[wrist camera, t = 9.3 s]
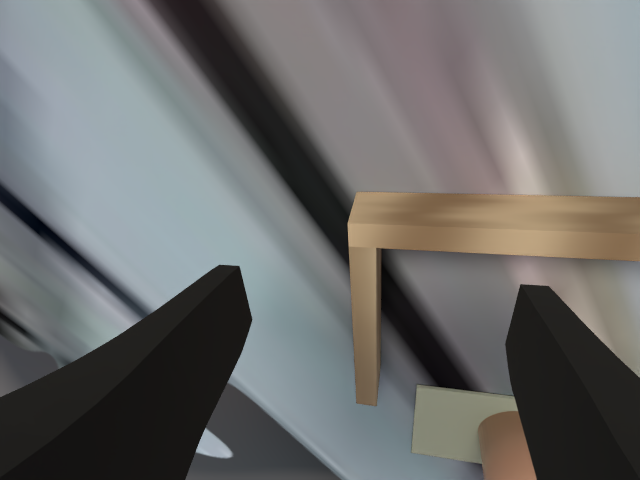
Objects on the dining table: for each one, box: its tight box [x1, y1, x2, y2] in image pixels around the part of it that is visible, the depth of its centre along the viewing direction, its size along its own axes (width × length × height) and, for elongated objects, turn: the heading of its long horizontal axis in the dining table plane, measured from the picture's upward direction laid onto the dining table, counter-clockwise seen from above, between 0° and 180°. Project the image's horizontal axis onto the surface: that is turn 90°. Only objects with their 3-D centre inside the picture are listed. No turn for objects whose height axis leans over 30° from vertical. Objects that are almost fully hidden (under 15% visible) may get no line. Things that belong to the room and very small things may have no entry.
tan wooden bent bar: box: [348, 192, 640, 406], centre depth 19 cm, size 21×13×3 cm, turn 95°
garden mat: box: [411, 385, 518, 464], centre depth 27 cm, size 14×8×1 cm, turn 95°
